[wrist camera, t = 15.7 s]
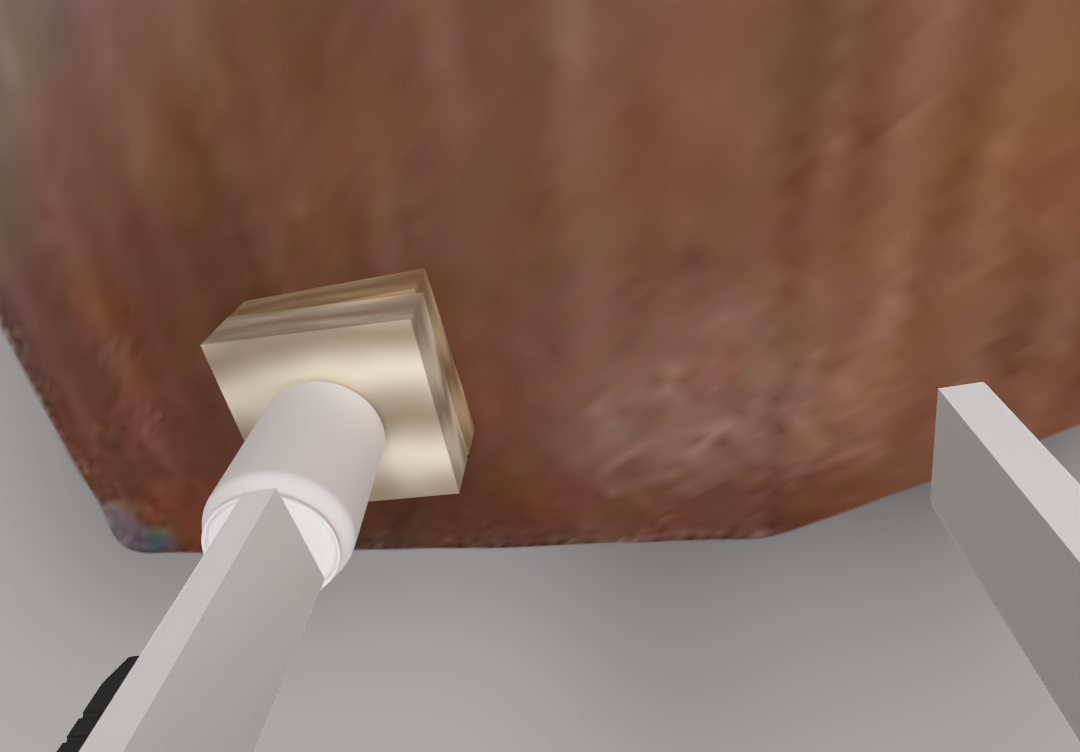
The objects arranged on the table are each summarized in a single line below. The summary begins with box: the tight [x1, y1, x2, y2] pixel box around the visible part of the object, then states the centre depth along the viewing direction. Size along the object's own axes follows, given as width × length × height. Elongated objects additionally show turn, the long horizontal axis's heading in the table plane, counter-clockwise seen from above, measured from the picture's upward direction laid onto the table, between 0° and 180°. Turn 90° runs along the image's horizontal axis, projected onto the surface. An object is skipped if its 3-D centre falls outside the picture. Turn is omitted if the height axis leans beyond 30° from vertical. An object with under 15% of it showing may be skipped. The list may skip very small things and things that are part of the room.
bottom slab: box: [229, 268, 475, 455], centre depth 53 cm, size 14×14×4 cm
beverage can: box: [201, 381, 385, 589], centre depth 42 cm, size 8×8×12 cm
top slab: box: [201, 292, 467, 501], centre depth 49 cm, size 14×14×4 cm
